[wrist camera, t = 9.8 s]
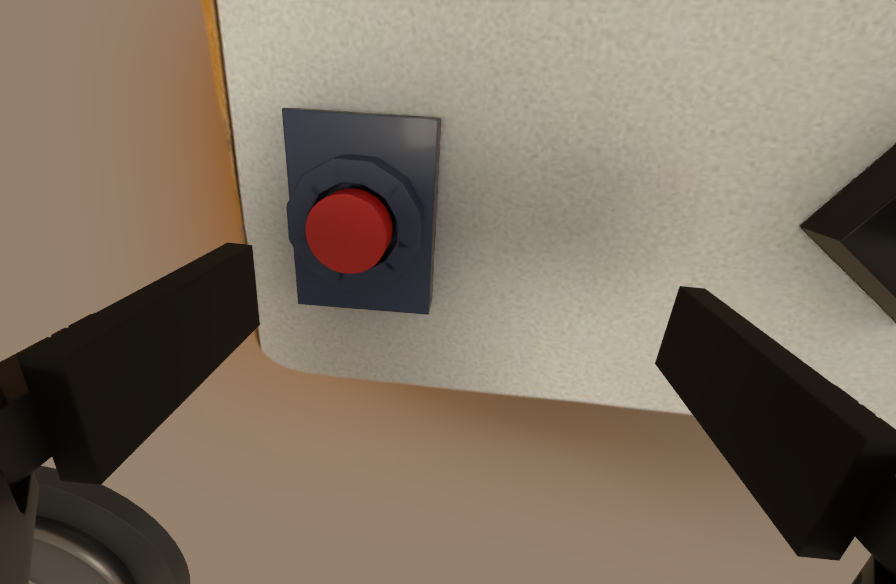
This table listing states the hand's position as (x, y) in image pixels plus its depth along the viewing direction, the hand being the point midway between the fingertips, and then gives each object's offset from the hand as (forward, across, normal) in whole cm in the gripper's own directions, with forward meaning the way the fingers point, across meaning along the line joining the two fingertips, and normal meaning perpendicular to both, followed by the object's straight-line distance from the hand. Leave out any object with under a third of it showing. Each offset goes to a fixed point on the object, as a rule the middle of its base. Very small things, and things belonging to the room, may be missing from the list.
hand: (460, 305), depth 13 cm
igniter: (+13, -6, 0) cm, 14 cm away
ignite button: (+10, -6, 0) cm, 11 cm away
